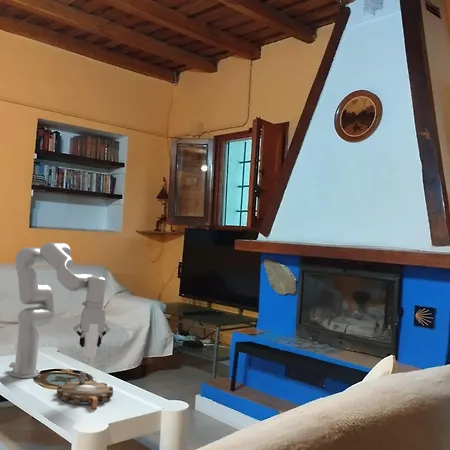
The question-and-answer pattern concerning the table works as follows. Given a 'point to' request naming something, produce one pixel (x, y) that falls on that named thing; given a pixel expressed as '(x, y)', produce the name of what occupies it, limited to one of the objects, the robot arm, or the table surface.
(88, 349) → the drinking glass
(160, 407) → the table surface
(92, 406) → the sprocket stand
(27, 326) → the robot arm
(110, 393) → the sprocket
